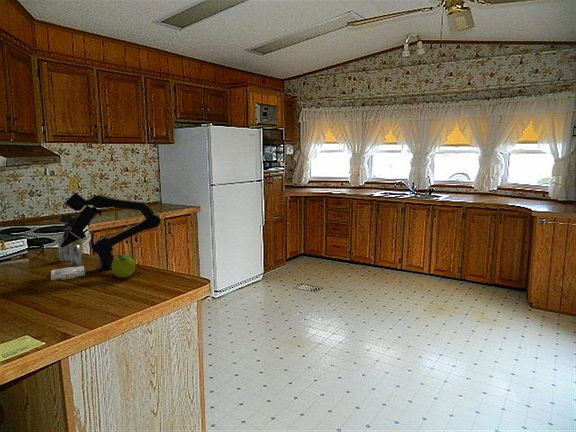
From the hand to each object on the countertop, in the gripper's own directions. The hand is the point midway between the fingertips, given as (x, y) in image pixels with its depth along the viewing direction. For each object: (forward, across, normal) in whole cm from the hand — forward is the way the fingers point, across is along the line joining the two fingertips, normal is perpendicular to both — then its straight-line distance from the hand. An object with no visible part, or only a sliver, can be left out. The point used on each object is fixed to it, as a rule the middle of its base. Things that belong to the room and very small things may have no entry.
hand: (60, 245), depth 177 cm
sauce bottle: (+2, -32, +17) cm, 36 cm away
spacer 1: (+4, 0, +6) cm, 7 cm away
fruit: (-4, +21, +24) cm, 32 cm away
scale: (+8, +1, +10) cm, 13 cm away
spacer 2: (+4, -14, +14) cm, 20 cm away
